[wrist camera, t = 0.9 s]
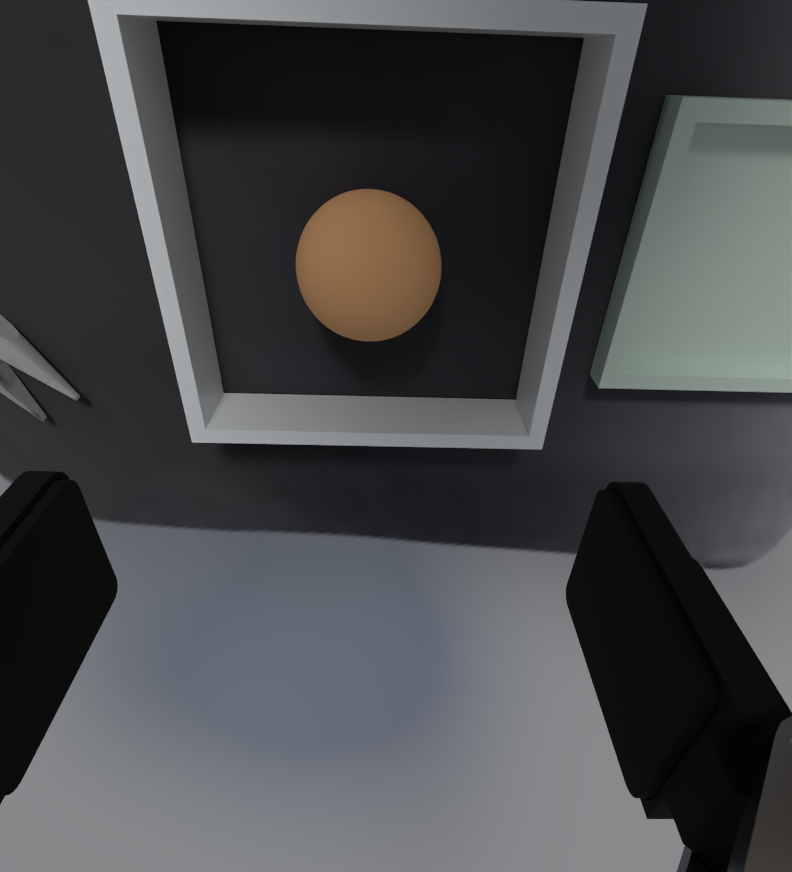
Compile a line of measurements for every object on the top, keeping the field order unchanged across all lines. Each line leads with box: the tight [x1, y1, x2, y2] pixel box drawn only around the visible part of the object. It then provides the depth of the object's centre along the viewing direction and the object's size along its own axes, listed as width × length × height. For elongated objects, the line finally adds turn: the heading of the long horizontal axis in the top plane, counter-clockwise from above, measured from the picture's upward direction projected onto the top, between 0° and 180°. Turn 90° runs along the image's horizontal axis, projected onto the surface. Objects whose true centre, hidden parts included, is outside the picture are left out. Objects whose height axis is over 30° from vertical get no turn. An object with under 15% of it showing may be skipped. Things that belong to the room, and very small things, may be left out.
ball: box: [296, 189, 441, 342], centre depth 22 cm, size 6×6×6 cm
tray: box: [590, 95, 792, 393], centre depth 24 cm, size 13×13×2 cm
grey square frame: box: [88, 0, 648, 450], centre depth 23 cm, size 18×18×4 cm
